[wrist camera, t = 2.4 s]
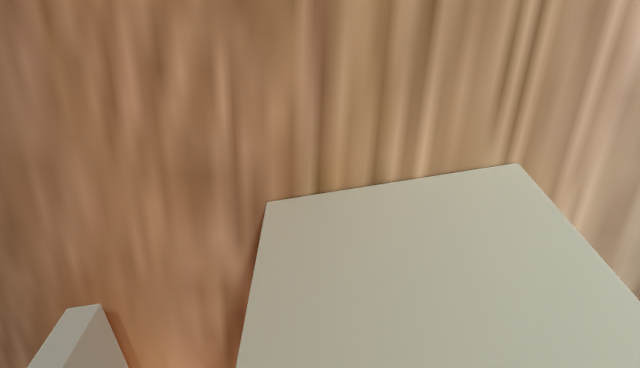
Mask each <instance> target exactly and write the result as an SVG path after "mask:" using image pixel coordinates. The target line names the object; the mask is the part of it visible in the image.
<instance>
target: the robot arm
mask: <svg viewBox="0 0 640 368" xmlns="http://www.w3.org/2000/svg"><path fill="white" fill-rule="evenodd" d="M27 368H129V367H128V365H127V363H126V360H125V358H124V356H123V354H122V351H121V349H120V347H119V344H118V342H117V340H116V338H115V335H114V333H113V331H112V328H111V326H110V324H109V322H108V319H107V317H106V315H105V312H104V310H103V308H102V306H101V303H100V304H94V305H87V306H80V307H73V308H67V309H66V311H65V312H64V314H63V315H62V317H61V318H60V320H59V321H58V322H57V324H56V325H55V327H54V328H53V330H52V331H51V333H50V334H49V336H48V337H47V339H46V340H45V342H44V343H43V345H42V346H41V348H40V349H39V351H38V352H37V354H36V355H35V356H34V358H33V359H32V361H31V362H30V364H29V365H28V367H27Z"/></svg>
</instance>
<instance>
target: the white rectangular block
mask: <svg viewBox="0 0 640 368" xmlns="http://www.w3.org/2000/svg"><path fill="white" fill-rule="evenodd" d="M236 368H640V301H639V300H638V298H637V297H636V296H635V295H634V294H633V293H632V292H631V290H630V289H629V288H628V287H627V286H626V285H625V284H624V283H623V281H622V280H621V279H620V278H619V277H618V276H617V275H616V273H615V272H614V271H613V270H612V269H611V268H610V267H609V266H608V264H607V263H606V262H605V261H604V260H603V259H602V258H601V256H600V255H599V254H598V253H597V252H596V251H595V250H594V249H593V247H592V246H591V245H590V244H589V243H588V242H587V241H586V239H585V238H584V237H583V236H582V235H581V234H580V233H579V231H578V230H577V229H576V228H575V227H574V226H573V225H572V224H571V222H570V221H569V220H568V219H567V218H566V217H565V216H564V214H563V213H562V212H561V211H560V210H559V209H558V208H557V207H556V205H555V204H554V203H553V202H552V201H551V200H550V199H549V197H548V196H547V195H546V194H545V193H544V192H543V191H542V190H541V188H540V187H539V186H538V185H537V184H536V183H535V182H534V180H533V179H532V178H531V177H530V176H529V175H528V174H527V173H526V171H525V170H524V169H523V168H522V167H521V166H520V165H519V163H514V164H507V165H501V166H495V167H488V168H482V169H475V170H469V171H463V172H456V173H450V174H443V175H437V176H431V177H424V178H418V179H412V180H405V181H399V182H392V183H386V184H380V185H373V186H367V187H360V188H354V189H348V190H341V191H335V192H329V193H322V194H316V195H309V196H303V197H297V198H290V199H284V200H277V201H271V202H267V204H266V209H265V215H264V220H263V225H262V231H261V236H260V241H259V246H258V252H257V257H256V262H255V268H254V273H253V278H252V284H251V289H250V294H249V300H248V305H247V310H246V316H245V321H244V326H243V332H242V337H241V342H240V348H239V353H238V358H237V364H236Z"/></svg>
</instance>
